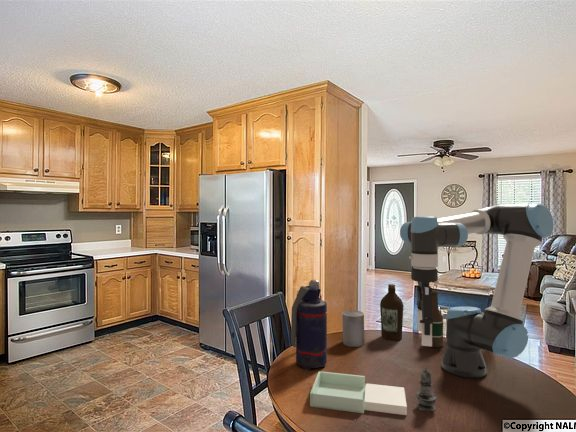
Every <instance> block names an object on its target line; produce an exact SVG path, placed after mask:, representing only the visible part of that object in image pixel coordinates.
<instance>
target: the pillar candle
mask: <svg viewBox="0 0 576 432" xmlns="http://www.w3.org/2000/svg"><path fill="white" fill-rule="evenodd" d="M342 344H343V345H344V346H346V347H350V348H351V347H352V348H353V347H354V348H355V347H357V348H358V347H359V348H360V347H363V346H364V345H365V314H364V312H363V311H360V310H353V309H352V310H350V309H349V310H345V311H342Z"/></svg>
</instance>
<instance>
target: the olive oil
mask: <svg viewBox="0 0 576 432" xmlns="http://www.w3.org/2000/svg"><path fill="white" fill-rule="evenodd" d="M387 285H388V286H387V292H386V294H385V295H384V296H383V297H382V298H381V299H380V303H379V308H380V309H379V311H380V331H381V333H380V334H381V336H380V337H381V338H382V339H384V340H386V341H392V342H394V341H396V342H397V341H401V340H403V326H404V325H403V324H404V322H403V320H404V302H403V300H402V299H401V297H400V296H399V295H398V294H397V293H396V284H393V283H388V284H387Z"/></svg>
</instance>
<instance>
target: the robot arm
mask: <svg viewBox="0 0 576 432" xmlns="http://www.w3.org/2000/svg"><path fill="white" fill-rule="evenodd" d="M553 231H554V217H553V215H552V212H551V211H550V209H549V208H548V207H547V206H546V205H544V204H542V203H531V202H529V203H513V204H512V203H511V204H510V203H509V204H508V203H507V204H504V203H502V204H496V205H491V206H487V207H482V208H478V209H474V210H472V211H470V213H465V214H463V213H462V214H457V215H451V216H446V217H445V216H444V217H439V218H438V217H436V216H413V217H412V219H411V221H406V222H404V223H403V224H402V225H401V226H400V228H399V236H400V238H401V240H402V241H403V242H405V243H406V244H407V243H409V244H411V246H410V247H411V248H410V249H411V252H410V253H411V256H410V255H409V256H408V258H409V260H410V263H411V266H412V268H410V271H411V272H410V279H411V281H413V282H417V285H416V291H417V292H416V295H417V297H416V308H417V311H416V312H417V317H416V318H417V320H416V321H417V322H416V323H417V332H421V346H422V347H431V346H432V323H433V314H432V290H433V288H432V286H430V283H436V282H437V281H438V280H439V278H438V277H439V276H438V275H439V274H438V273H439V270H438V269H437V267H439V253H438V252H439V251H438V249H439V248H446V247H449V248H450V247H453V248H456V247H460V246H463V245H465V244H466V242H467V241H468V238H469V235H470V234H476V235H484V234H490V235H501V236H503V239H504V241H506V244H505V248H504V251H503V256H502V260H501V264H500V268H499V272H498V276H497V279H496V285H495V289H494V293H493V297H492V300H491V304H490V306H489V307H486V308H485V309H484V312H482V309H481V308H479V307H476V306H454V307H453V306H451V307H450V308H448V309H447V311H446V318H445V320H446V322H445V324H446V346H445V350H444V352H443V354H442V355H443V356H442V358H441V368H442V369H443V370H444V371H446V372H447V373H449V374H453V375H454V376H455V375H456V376H458V377H463V378H473V379H474V378H475V379H478V378H483V377H485V376H486V375H487V364H486V362H485V358H484V356H483V353H482V350H484V351H485V352H486V351H487V352H489V353H492V354H494V355H496V356H499V357H504V358H506V359H514V358H517V357H519V355H521V354H522V353H523V352H524V350H525V349H526V347H527V345H528V341H529V332H528V329H527V328H526V327H525V326H524V319H523V317H522V316H521V314H520V312H521V309H522V303H523V300H524V296H525V291H526V289H527V288H526V287H527V284H528V283H527V282H528V278H529V275H530V270H531V266H532V262H533V258H534V253H535V249H536V247H539V246H541V245H542V242H543V239H544V238H549V237H550V236H551V235H552V233H553ZM482 313H483V314H482ZM427 318H429V319H427Z"/></svg>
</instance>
